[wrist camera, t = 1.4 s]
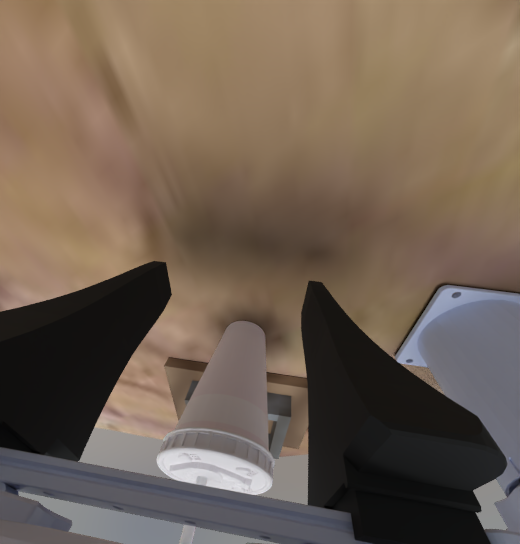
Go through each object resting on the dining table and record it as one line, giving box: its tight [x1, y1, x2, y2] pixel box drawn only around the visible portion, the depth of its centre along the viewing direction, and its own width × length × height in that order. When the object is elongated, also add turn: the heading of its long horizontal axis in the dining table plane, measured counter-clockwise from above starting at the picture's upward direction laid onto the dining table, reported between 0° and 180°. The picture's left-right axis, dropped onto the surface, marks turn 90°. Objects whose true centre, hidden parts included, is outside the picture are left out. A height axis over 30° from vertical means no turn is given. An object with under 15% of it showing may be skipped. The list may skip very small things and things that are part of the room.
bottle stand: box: [164, 358, 308, 459], centre depth 25 cm, size 16×14×3 cm
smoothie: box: [157, 321, 275, 544], centre depth 14 cm, size 6×6×14 cm
